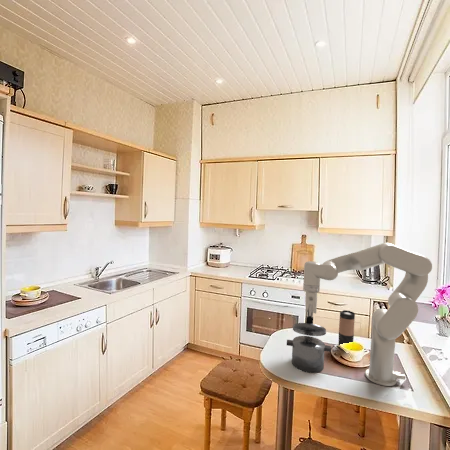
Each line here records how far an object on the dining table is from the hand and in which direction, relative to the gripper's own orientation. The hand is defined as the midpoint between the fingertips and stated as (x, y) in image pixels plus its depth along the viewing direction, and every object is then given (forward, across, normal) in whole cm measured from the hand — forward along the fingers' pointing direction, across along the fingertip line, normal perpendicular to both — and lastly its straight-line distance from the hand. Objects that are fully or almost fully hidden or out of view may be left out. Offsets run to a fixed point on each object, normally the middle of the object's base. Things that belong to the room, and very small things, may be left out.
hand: (309, 324), depth 144 cm
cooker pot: (+20, 0, 0) cm, 20 cm away
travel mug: (+20, +25, -20) cm, 38 cm away
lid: (+4, +2, 0) cm, 5 cm away
